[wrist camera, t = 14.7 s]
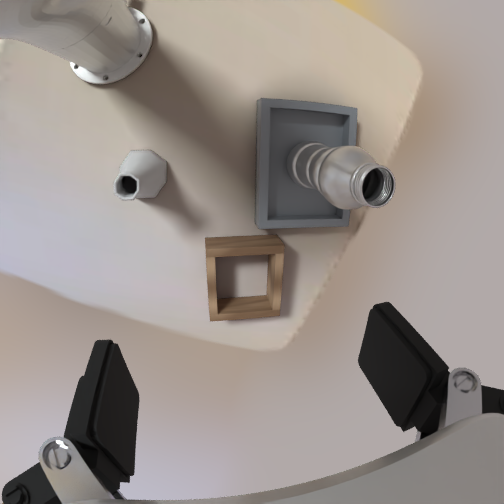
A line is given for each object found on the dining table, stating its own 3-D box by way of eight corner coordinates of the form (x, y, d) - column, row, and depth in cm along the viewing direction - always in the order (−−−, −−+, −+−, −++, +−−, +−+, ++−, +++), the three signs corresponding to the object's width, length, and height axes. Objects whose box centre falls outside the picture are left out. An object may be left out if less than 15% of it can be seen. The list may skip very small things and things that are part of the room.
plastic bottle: (333, 157, 41) (419, 178, 23) (308, 193, 43) (380, 238, 24) (300, 131, 39) (374, 131, 21) (273, 169, 41) (329, 197, 22)
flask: (127, 142, 36) (105, 146, 27) (175, 156, 39) (166, 164, 29) (113, 191, 39) (90, 208, 30) (159, 204, 41) (148, 226, 32)
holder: (205, 237, 44) (205, 249, 40) (276, 234, 46) (284, 245, 41) (208, 305, 48) (210, 321, 44) (273, 300, 50) (279, 315, 46)
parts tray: (257, 100, 37) (261, 98, 34) (347, 109, 39) (357, 108, 37) (254, 222, 44) (258, 229, 42) (340, 220, 46) (348, 226, 44)
